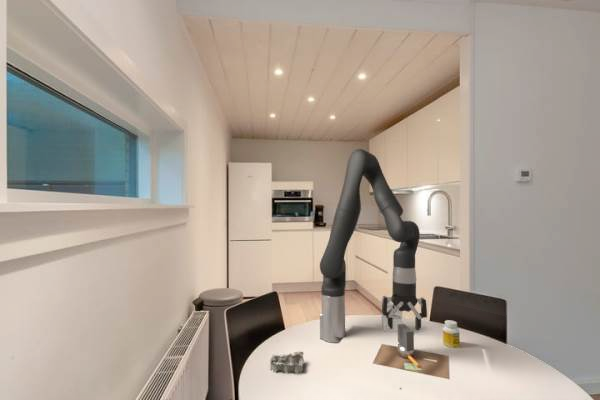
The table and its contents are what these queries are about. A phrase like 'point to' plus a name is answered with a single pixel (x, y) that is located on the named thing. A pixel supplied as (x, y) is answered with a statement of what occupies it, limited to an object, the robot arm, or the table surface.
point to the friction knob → (406, 343)
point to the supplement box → (396, 319)
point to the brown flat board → (426, 360)
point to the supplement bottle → (451, 334)
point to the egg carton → (287, 358)
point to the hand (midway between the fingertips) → (404, 328)
